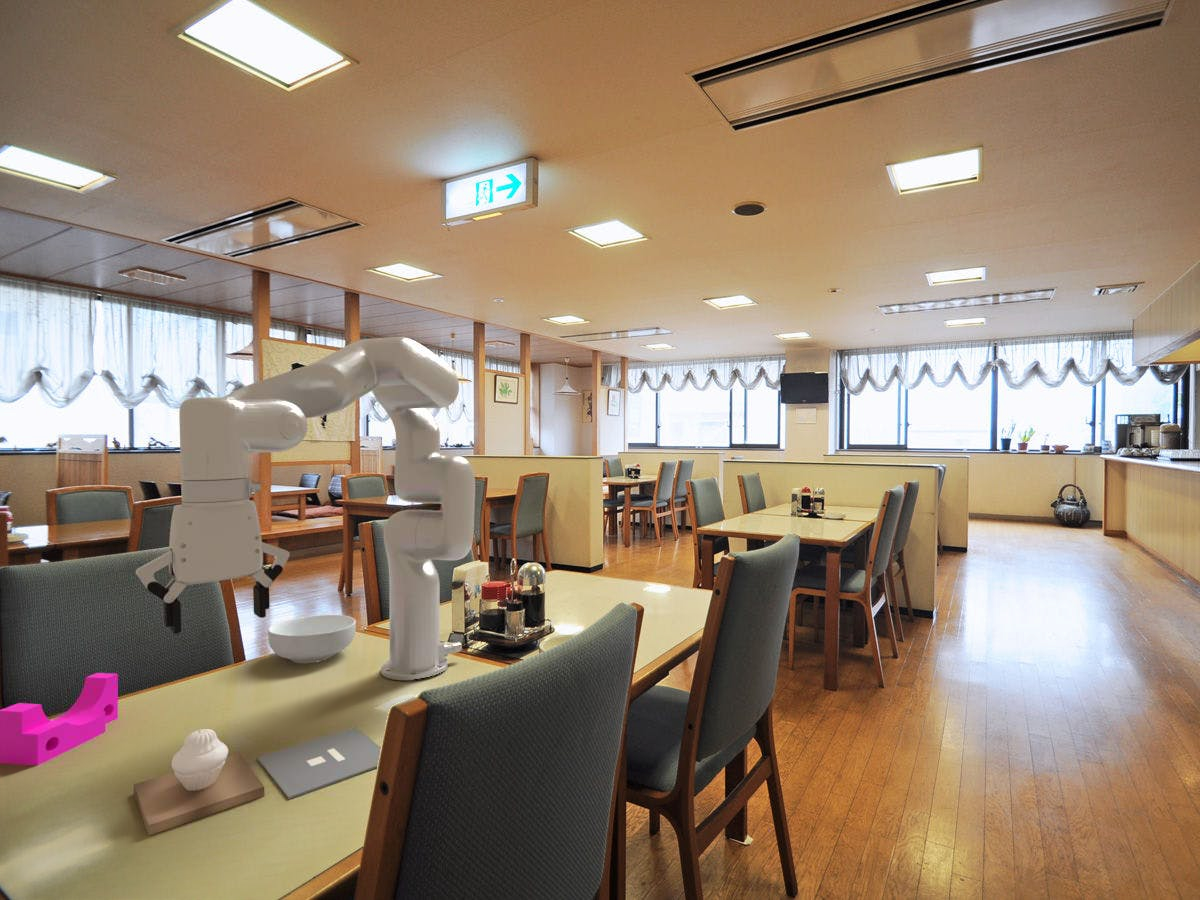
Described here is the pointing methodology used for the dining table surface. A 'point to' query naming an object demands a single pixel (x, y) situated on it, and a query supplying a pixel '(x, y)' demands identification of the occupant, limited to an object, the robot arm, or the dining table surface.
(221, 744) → the muffin
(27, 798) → the dining table surface
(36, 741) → the magenta cradle bracket
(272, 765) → the tile
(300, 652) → the cereal bowl
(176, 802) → the walnut pad
